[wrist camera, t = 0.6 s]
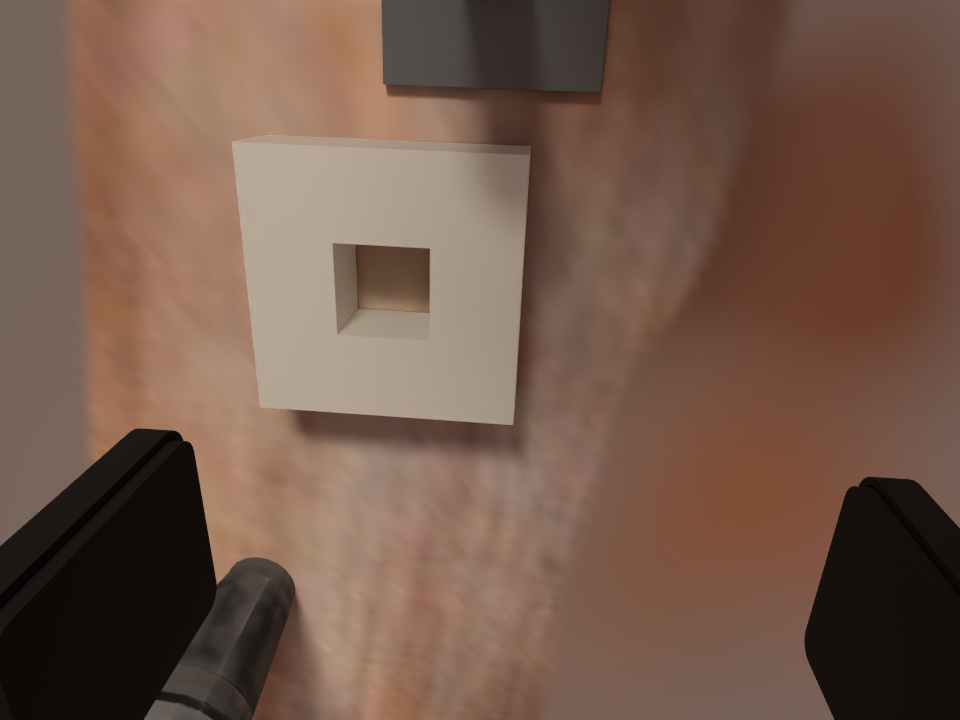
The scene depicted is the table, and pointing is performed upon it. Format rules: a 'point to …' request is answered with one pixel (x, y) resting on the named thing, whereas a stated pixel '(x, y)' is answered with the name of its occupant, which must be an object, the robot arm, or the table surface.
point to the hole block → (333, 274)
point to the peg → (494, 0)
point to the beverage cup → (230, 647)
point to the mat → (495, 43)
